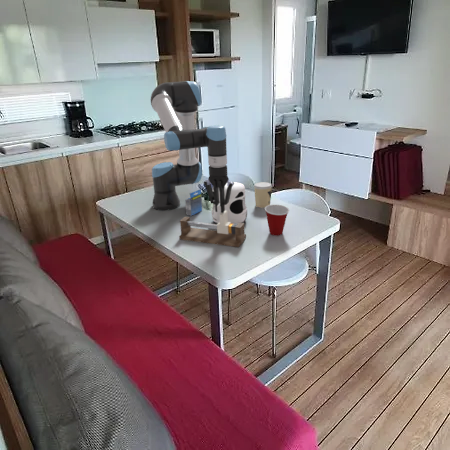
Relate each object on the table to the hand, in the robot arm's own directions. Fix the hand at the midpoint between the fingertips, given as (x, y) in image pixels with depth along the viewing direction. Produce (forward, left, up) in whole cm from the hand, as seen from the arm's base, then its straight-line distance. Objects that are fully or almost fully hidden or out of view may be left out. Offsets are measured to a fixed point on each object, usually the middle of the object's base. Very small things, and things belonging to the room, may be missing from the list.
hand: (220, 218), depth 156 cm
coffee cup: (+7, +45, -10) cm, 47 cm away
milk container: (-3, +20, -10) cm, 23 cm away
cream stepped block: (+1, 0, -6) cm, 6 cm away
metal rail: (-4, 0, -6) cm, 7 cm away
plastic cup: (+22, +13, -10) cm, 27 cm away
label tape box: (-25, +26, -10) cm, 38 cm away
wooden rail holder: (-4, 0, -10) cm, 11 cm away
